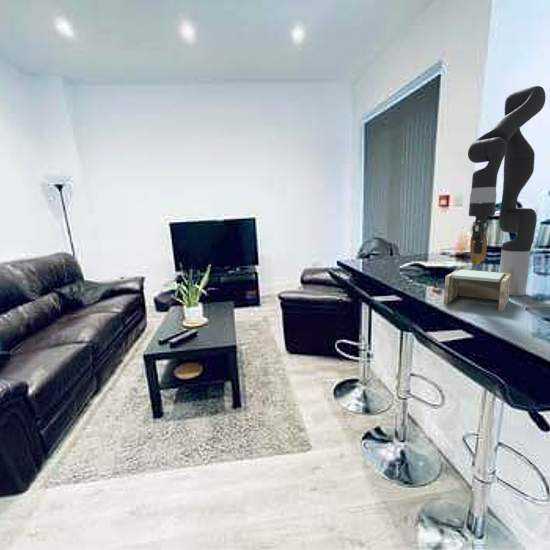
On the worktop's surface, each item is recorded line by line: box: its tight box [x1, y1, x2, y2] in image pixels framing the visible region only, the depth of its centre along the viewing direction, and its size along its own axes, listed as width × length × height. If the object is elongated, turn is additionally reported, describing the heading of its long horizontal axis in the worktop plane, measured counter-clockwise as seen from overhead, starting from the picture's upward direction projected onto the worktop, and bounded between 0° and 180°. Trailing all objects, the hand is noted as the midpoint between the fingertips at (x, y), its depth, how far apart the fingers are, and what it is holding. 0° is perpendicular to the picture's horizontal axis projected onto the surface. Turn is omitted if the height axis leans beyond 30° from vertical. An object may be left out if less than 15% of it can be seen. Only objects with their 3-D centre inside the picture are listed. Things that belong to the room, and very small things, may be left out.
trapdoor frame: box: [443, 269, 511, 312], centre depth 121 cm, size 17×18×10 cm
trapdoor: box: [452, 269, 504, 282], centre depth 120 cm, size 15×14×1 cm
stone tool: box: [469, 232, 488, 265], centre depth 114 cm, size 5×2×15 cm, turn 52°
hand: (478, 253), depth 115 cm, fingers closed on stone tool, 2 cm apart
